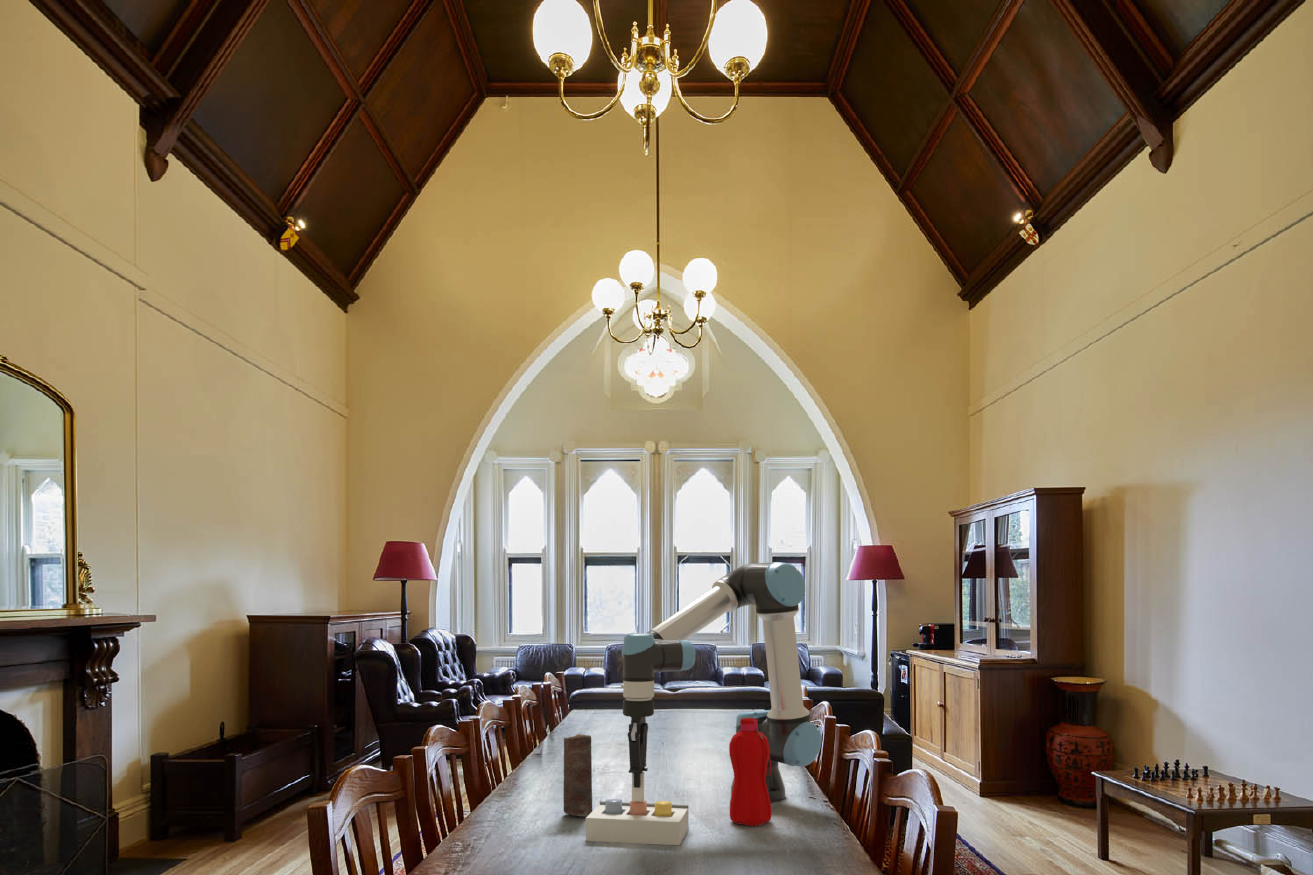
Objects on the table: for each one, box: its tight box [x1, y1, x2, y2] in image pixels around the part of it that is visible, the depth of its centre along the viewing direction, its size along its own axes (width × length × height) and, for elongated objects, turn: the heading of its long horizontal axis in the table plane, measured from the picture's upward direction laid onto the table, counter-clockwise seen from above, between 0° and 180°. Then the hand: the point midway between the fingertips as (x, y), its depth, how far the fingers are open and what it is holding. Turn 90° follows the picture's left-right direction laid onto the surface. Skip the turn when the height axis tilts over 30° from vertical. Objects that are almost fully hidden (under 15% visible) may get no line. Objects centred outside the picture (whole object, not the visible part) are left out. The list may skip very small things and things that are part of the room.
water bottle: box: [728, 718, 773, 827], centre depth 230 cm, size 9×11×25 cm
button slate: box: [605, 798, 623, 815], centre depth 219 cm, size 4×4×4 cm
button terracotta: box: [630, 800, 648, 816], centre depth 218 cm, size 4×4×4 cm
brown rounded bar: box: [563, 734, 593, 818], centre depth 236 cm, size 8×7×20 cm
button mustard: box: [654, 800, 672, 817], centre depth 217 cm, size 4×4×4 cm
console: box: [585, 800, 690, 846], centre depth 217 cm, size 22×14×6 cm, turn 80°
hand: (638, 800), depth 218 cm, fingers closed
